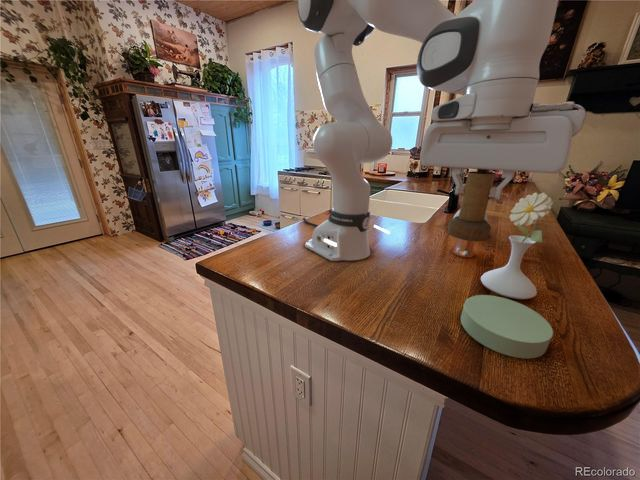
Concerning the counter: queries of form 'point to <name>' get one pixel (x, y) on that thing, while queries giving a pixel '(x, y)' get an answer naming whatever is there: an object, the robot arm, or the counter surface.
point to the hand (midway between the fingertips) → (476, 196)
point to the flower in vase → (519, 249)
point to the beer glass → (464, 248)
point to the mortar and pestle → (473, 208)
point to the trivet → (506, 326)
